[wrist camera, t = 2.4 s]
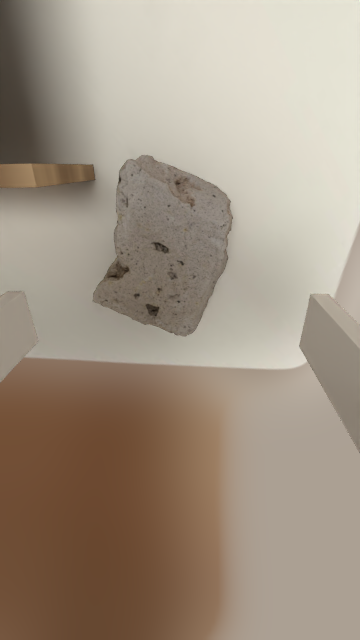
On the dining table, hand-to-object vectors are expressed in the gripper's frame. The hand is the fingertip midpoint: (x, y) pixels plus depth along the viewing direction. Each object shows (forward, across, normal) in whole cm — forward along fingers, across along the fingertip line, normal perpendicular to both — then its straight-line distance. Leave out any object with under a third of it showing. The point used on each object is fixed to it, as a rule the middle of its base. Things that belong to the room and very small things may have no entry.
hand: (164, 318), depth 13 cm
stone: (+12, -1, 0) cm, 12 cm away
